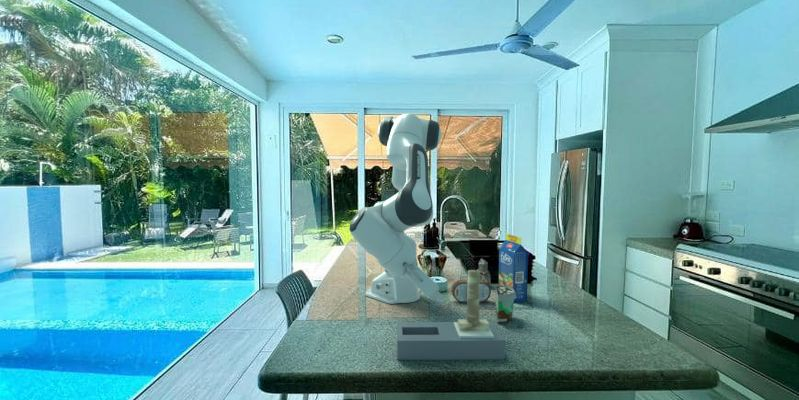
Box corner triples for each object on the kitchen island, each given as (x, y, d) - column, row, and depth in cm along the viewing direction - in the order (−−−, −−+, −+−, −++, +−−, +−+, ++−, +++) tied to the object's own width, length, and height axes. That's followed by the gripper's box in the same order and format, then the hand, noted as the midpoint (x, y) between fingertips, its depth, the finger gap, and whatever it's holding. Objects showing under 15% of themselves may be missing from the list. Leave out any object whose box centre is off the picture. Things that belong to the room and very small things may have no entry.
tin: (489, 300, 136) (489, 279, 136) (491, 303, 133) (492, 281, 133) (451, 300, 136) (451, 279, 135) (452, 303, 133) (452, 281, 132)
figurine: (474, 288, 152) (474, 260, 151) (473, 283, 159) (474, 257, 158) (491, 289, 151) (491, 261, 150) (489, 284, 158) (490, 258, 157)
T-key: (459, 331, 95) (460, 272, 94) (457, 326, 98) (458, 269, 97) (488, 330, 95) (489, 272, 94) (485, 326, 98) (486, 269, 97)
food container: (517, 327, 111) (518, 296, 110) (497, 325, 112) (498, 294, 112) (513, 313, 123) (513, 285, 122) (495, 311, 124) (495, 284, 124)
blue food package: (511, 292, 146) (513, 233, 145) (527, 301, 135) (528, 237, 133) (498, 292, 145) (499, 233, 144) (512, 302, 134) (513, 238, 132)
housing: (397, 359, 90) (397, 338, 90) (396, 339, 102) (396, 320, 102) (504, 359, 91) (505, 338, 90) (491, 338, 103) (491, 319, 102)
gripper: (419, 259, 81) (458, 297, 83) (399, 244, 101) (431, 275, 103) (400, 279, 80) (440, 317, 83) (384, 260, 100) (416, 291, 102)
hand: (435, 294), depth 93 cm, fingers open, 8 cm apart
